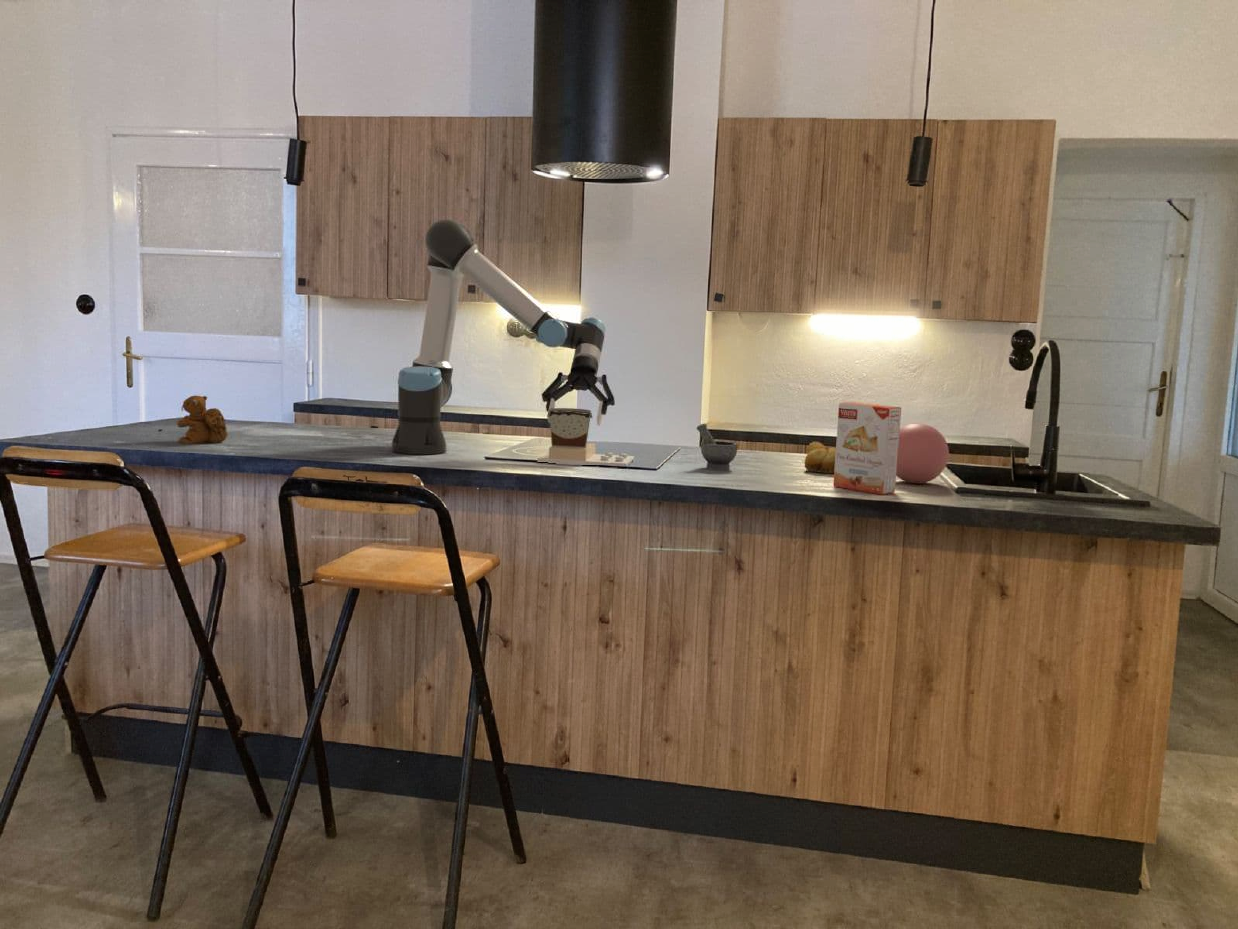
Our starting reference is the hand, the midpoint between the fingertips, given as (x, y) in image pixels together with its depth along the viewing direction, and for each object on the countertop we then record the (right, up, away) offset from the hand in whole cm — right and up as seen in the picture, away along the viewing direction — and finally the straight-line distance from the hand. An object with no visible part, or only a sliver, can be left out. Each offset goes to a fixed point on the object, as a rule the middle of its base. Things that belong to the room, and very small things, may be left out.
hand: (573, 421), depth 275 cm
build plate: (+4, -11, +2) cm, 12 cm away
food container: (-1, -7, +2) cm, 7 cm away
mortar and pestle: (+38, -13, -1) cm, 41 cm away
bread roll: (+69, -14, 0) cm, 70 cm away
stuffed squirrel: (-105, -6, +12) cm, 106 cm away
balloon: (+89, -16, -12) cm, 91 cm away
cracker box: (+72, -18, -29) cm, 79 cm away
